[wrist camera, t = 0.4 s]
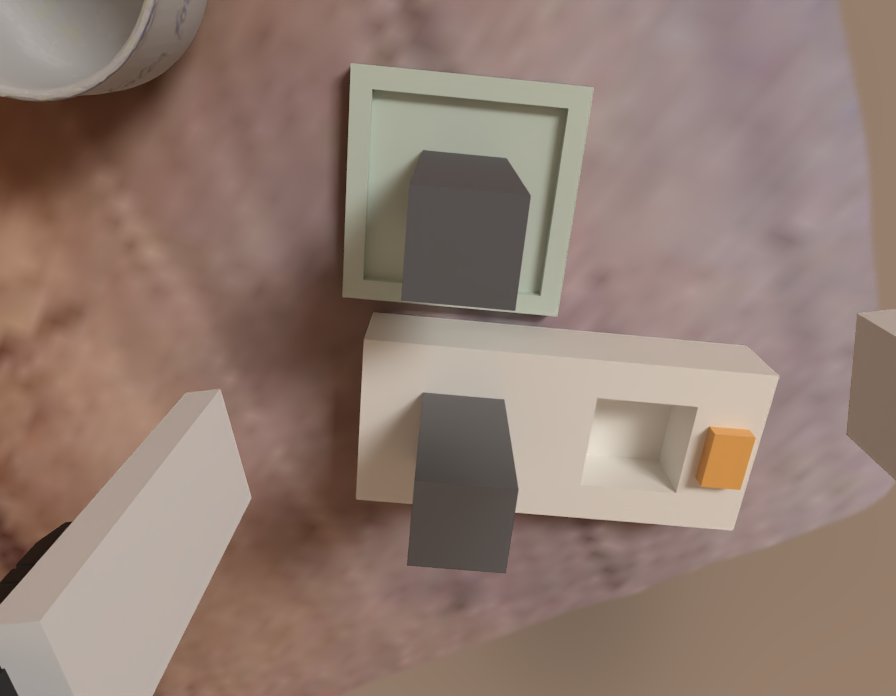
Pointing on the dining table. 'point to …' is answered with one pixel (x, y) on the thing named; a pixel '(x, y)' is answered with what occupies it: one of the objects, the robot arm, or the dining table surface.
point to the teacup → (90, 44)
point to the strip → (551, 430)
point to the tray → (465, 132)
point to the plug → (464, 231)
